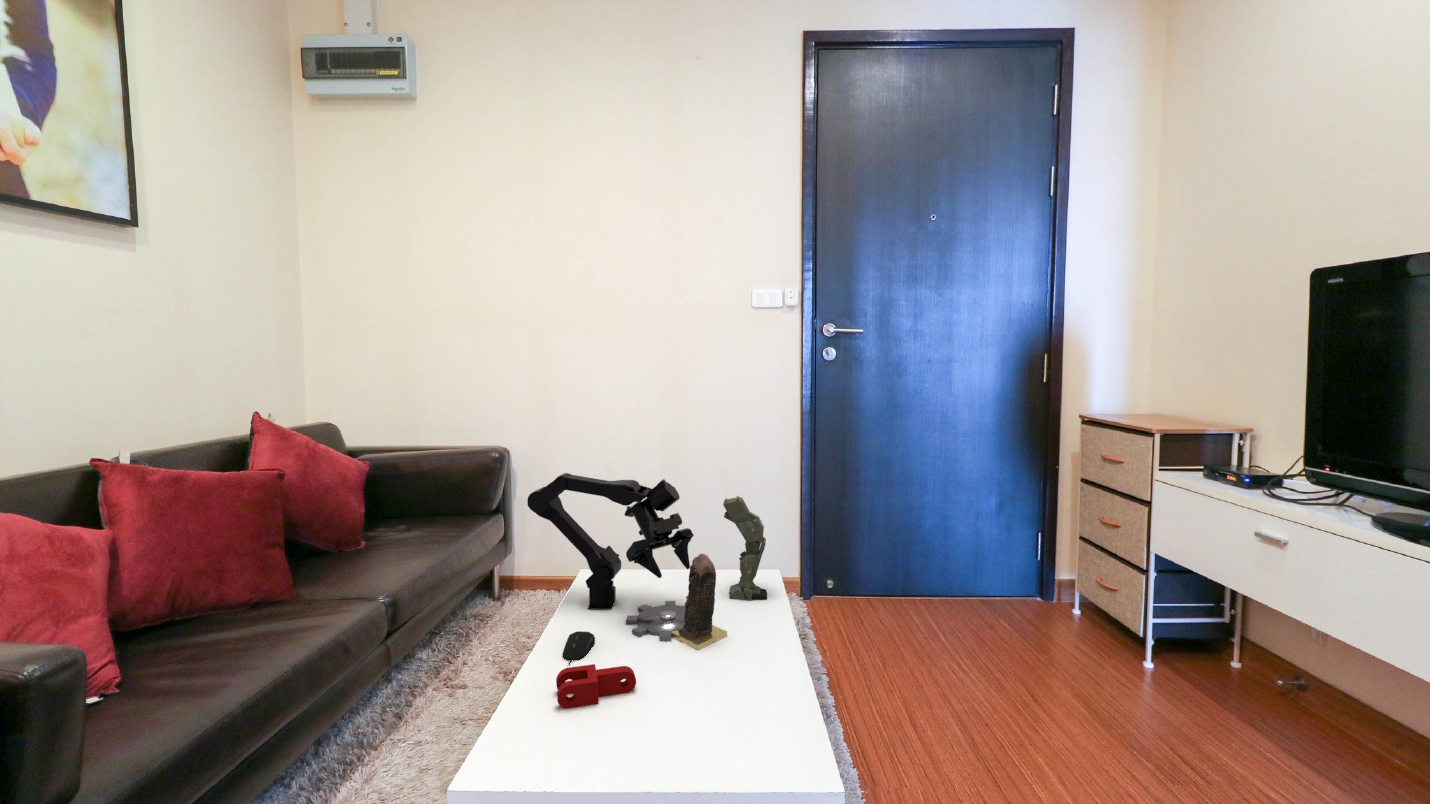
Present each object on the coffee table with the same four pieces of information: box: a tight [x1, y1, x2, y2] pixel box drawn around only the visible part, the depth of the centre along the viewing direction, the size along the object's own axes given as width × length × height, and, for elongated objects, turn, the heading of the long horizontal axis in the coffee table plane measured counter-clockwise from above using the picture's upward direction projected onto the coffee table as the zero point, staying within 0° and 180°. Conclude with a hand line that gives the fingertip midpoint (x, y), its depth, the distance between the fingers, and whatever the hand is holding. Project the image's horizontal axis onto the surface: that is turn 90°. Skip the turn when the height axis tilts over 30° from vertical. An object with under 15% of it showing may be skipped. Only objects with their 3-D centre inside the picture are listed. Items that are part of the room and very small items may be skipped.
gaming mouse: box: [562, 630, 596, 666], centre depth 149 cm, size 6×15×4 cm, turn 176°
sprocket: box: [625, 600, 728, 650], centre depth 162 cm, size 27×21×2 cm
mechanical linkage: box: [555, 663, 637, 710], centre depth 130 cm, size 16×7×5 cm, turn 106°
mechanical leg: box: [723, 496, 768, 601], centre depth 180 cm, size 14×7×30 cm, turn 84°
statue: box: [678, 553, 717, 639], centre depth 154 cm, size 7×7×20 cm
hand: (675, 572), depth 162 cm, fingers open, 9 cm apart
